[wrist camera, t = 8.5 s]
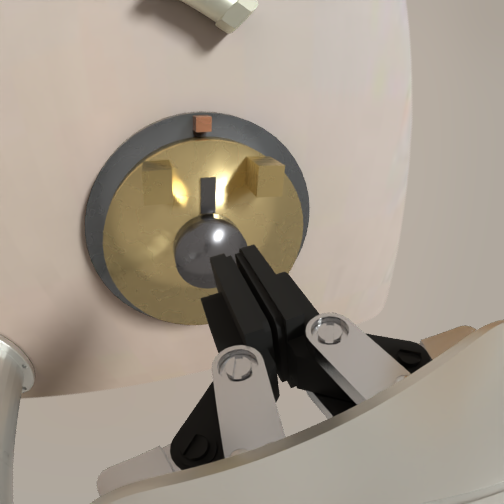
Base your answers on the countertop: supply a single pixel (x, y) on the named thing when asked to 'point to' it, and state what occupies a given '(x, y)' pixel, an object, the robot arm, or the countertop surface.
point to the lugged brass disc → (196, 222)
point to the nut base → (165, 134)
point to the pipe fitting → (225, 11)
